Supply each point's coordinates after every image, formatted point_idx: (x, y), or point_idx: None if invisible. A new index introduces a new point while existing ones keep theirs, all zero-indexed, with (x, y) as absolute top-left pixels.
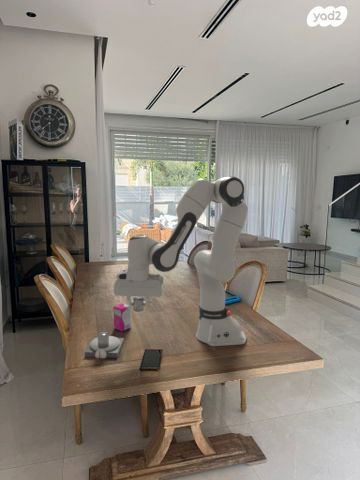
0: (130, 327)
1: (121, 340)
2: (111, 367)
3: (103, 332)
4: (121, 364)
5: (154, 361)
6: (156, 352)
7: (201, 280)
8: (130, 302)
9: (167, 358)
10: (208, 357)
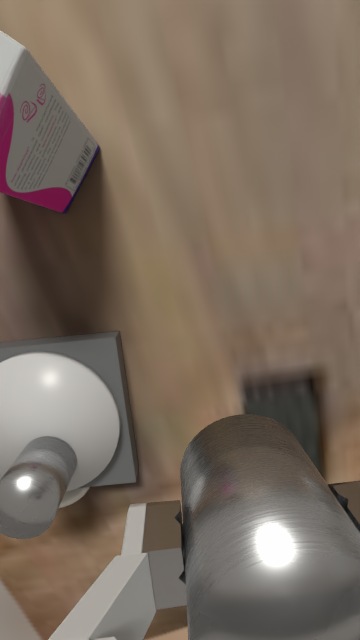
0: (97, 148)
1: (112, 366)
2: None
3: (10, 491)
4: None
5: None
6: (299, 400)
7: None
8: (147, 604)
9: (351, 440)
10: None
